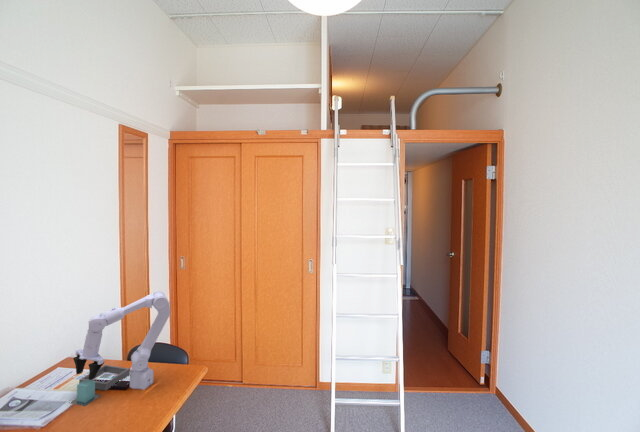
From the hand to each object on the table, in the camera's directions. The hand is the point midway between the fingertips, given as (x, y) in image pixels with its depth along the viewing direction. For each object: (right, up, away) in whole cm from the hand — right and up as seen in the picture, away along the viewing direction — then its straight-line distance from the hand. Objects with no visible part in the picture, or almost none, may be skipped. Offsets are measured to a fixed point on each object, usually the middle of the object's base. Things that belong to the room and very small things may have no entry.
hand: (85, 376), depth 135 cm
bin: (-1, -10, +14) cm, 17 cm away
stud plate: (+1, -10, -1) cm, 10 cm away
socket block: (+1, -9, -1) cm, 9 cm away
